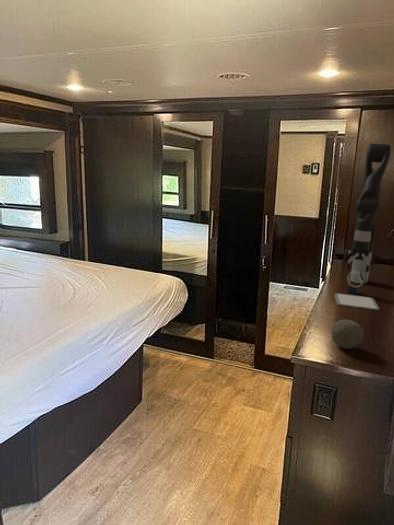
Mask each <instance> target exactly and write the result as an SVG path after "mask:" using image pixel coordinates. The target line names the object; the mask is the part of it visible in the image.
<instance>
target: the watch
mask: <svg viewBox="0 0 394 525" xmlns="http://www.w3.org/2000/svg"><path fill="white" fill-rule="evenodd" d="M351 273H357V276H358V279H359V281H360V282H361V283H360V285H355V284H354V285H353V284H352V281H350V276H351ZM346 280H347V283H348V285H349V286H348V289H347V293H348V294H349V295H355V294H356V295H355V296H358V294H359V292H360V287H361V286H362V285H364V283H363V282H364V279H363V276H362V274H361V273H359V272H356V271H354V272H351V271H350V272H349V273H348V275H347V277H346Z"/></svg>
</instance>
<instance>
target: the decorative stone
mask: <svg viewBox="0 0 394 525" xmlns="http://www.w3.org/2000/svg"><path fill="white" fill-rule="evenodd" d="M364 335H365V334H364V329H363V328H362V326H361V325H360V324H359V322H356V321H353V320H350V319H345V318H344V319H343V318H342V319H340V320H338V321H337V322H335V324H334V325H333V327H332V329H331V338H332V340H333V342H334V343H335V344H336V346H337V347H339V348H341V349H344V350H351V349H354V348H356V347H357V346H359V345H360V343H361V342H362V341H363V340H364Z"/></svg>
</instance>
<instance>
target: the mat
mask: <svg viewBox="0 0 394 525" xmlns="http://www.w3.org/2000/svg"><path fill="white" fill-rule="evenodd" d="M334 294H335V295H334V298H335V301H336V304H337V306H339V307H344V308H345V307H347V308H356V309H362V310H369V311H370V310H371V311H378V312H380V311H381V309H380V307H379V306H378V304H377V302H376V300H375V299H374V298H373V297H369V296H362V295H355V294H347V293H339V292H338V293H337V292H334Z"/></svg>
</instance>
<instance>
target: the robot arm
mask: <svg viewBox="0 0 394 525" xmlns="http://www.w3.org/2000/svg"><path fill="white" fill-rule="evenodd" d="M391 150H392V147H391V145H390V144H386V143H370V144H368V146H367V149H366V156H365V166H364V174H363V181H362V186H361V191H360V196H359V198H358V199H357V201H356V203H355V207H354V208H355V211H356V212H357V218H356V219H357V220H356V224H355V228H354V237H353V243H352V249H350V250H348V249H347V248H346V249H345V250H344V254H343V258H342V260H343V262H344V263H346V266H345V270H347V271H348V272H349V271H350V267H351V271H350V273H351V272H354V271H356V272H359V273H361V274H362V276H363V279H364V282H363V284H367V283H368V279H369V275H370V269H371V265H372V266H373V265H374V264H375V259H376V258H375V257H376V253H375V252H374V250H373V249H374V243H375V239H376V235H377V229H378V227H377V225H376V223H375V224H374V219H375V217H376V215H377V214H378V211H379V209H380V202H379V200H380V196H381V190H382V189H381V183H382V180H383V178H384V174H385V172H386V169H387V167H388V164H389V160H390V157H391V153H392V152H391ZM373 163H378V164H379V165H378V167H377V168H376V169H375V170H374V168H373ZM367 215H368V217H367ZM350 254H351V256H350V257H349V259H348V256H349V255H350ZM351 263H352V265H351ZM349 279H350V282H351V283H352V282H353V283H356V284H361V282H360V281H359V279H358V276H357V273H351V274H350V276H349Z"/></svg>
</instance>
